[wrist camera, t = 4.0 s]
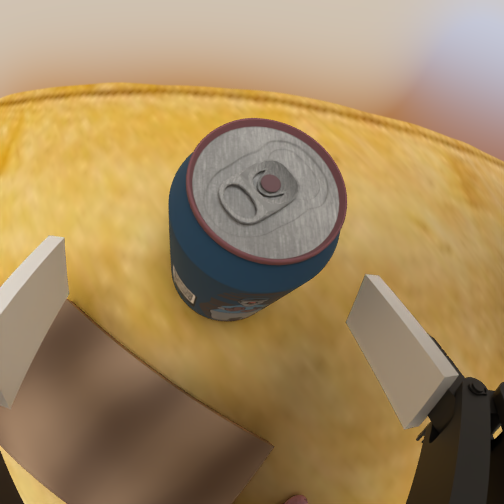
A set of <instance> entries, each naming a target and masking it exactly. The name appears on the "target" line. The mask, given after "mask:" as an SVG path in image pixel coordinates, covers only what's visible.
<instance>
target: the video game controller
mask: <svg viewBox="0 0 504 504" xmlns="http://www.w3.org/2000/svg"><path fill="white" fill-rule="evenodd" d="M284 504H308V501H307V499H306V497H305V496H303V495H296V496H293V497H291V498H290V499H288V500H287V501H286V502H285V503H284Z"/></svg>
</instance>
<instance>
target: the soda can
mask: <svg viewBox="0 0 504 504" xmlns="http://www.w3.org/2000/svg"><path fill="white" fill-rule="evenodd" d="M346 210H347V193H346V188H345V184H344V180H343V178H342V175H341V173H340V170H339V169H338V167H337V165H336V163H335V162H334V160H333V159H332V157H331V156H330V155H329V154H328V152H327V151H326V150H325V149H324V148H323V147H322V146H321V145H320V144H319V143H318V142H317V141H315V140H314V139H313V138H311V137H310V136H309V135H307V134H306V133H304V132H302V131H301V130H299V129H297V128H295V127H292V126H290V125H287V124H285V123H281V122H278V121H274V120H269V119H261V118H246V119H240V120H235V121H232V122H229V123H227V124H224V125H222V126H220V127H218V128H216V129H215V130H213V131H212V132H210V133H209V134H208V135H207V136H206V137H205V138H203V139H202V141H201V142H200V143H199V144H198V145H197V147H196V148H195V150H194V152H193V153H191V154H190V155H189V156H188V157H187V158H186V160H185V161H184V162H183V163H182V165H181V166H180V168H179V169H178V171H177V173H176V175H175V177H174V179H173V182H172V185H171V189H170V194H169V233H170V254H171V271H172V278H173V282H174V285H175V287H176V290H177V292H178V293H179V295H180V297H181V298H182V299H183V301H184V302H185V303H186V304H187V305H188V306H189V307H190V308H191V309H193V310H194V311H195V312H197V313H199V314H200V315H202V316H204V317H207V318H210V319H213V320H218V321H236V320H241V319H244V318H247V317H249V316H251V315H253V314H255V313H256V312H258V311H260V310H261V309H263V308H265V307H267V306H268V305H270V304H272V303H273V302H275V301H277V300H278V299H280V298H281V297H283V296H285V295H286V294H288V293H290V292H291V291H293V290H295V289H296V288H298V287H299V286H301V285H303V284H304V283H306V282H307V281H309V280H310V279H312V278H313V277H315V276H316V275H317V274H318V273H319V272H320V271H321V270H322V269H323V268H324V267H325V265H326V264H327V263H328V261H329V260H330V258H331V257H332V255H333V253H334V251H335V248H336V246H337V243H338V239H339V234H340V230H341V228H342V225H343V223H344V220H345V216H346Z"/></svg>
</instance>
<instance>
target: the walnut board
mask: <svg viewBox="0 0 504 504" xmlns="http://www.w3.org/2000/svg"><path fill="white" fill-rule="evenodd" d="M0 446H1V447H2V448H3V449H4V450H5V451H6V452H7V453H8V454H9V455H10V456H11V457H12V458H13V459H14V460H15V461H17V462H18V463H19V464H20V465H21V466H22V467H23V468H24V469H25V470H26V471H27V472H29V473H30V474H31V475H32V476H33V477H34V478H35V479H37V480H38V481H39V482H40V483H41V484H43V485H44V486H45V487H46V488H47V489H49V490H50V491H51V492H52V493H54V494H55V495H56V496H58V497H59V498H60V499H62V500H63V501H64V502H66V503H67V504H232V503H233V502H234V500H235V499H236V498H237V497H238V495H239V494H240V493H241V491H242V490H243V489H244V488H245V486H246V485H247V484H248V482H249V481H250V480H251V478H252V477H253V476H254V474H255V473H256V472H257V470H258V469H259V468H260V466H261V465H262V463H263V462H264V461H265V459H266V458H267V456H268V455H269V454H270V452H271V451H272V449H273V448H274V446H273V445H272V444H270V443H269V442H268V441H266V440H264V439H263V438H261V437H259V436H257V435H255V434H253V433H252V432H250V431H248V430H246V429H245V428H243V427H241V426H239V425H238V424H236V423H234V422H232V421H231V420H229V419H227V418H226V417H224V416H222V415H221V414H219V413H218V412H216V411H214V410H213V409H211V408H209V407H208V406H206V405H205V404H203V403H202V402H200V401H199V400H197V399H195V398H194V397H192V396H191V395H189V394H188V393H186V392H185V391H184V390H182V389H181V388H179V387H178V386H176V385H175V384H173V383H172V382H170V381H169V380H168V379H166V378H165V377H163V376H162V375H161V374H159V373H158V372H157V371H155V370H154V369H152V368H151V367H150V366H148V365H147V364H146V363H144V362H143V361H142V360H140V359H139V358H138V357H137V356H135V355H134V354H133V353H131V352H130V351H129V350H128V349H126V348H125V347H124V346H123V345H121V344H120V343H119V342H118V341H116V340H115V339H114V338H113V337H112V336H110V335H109V334H108V333H107V332H106V331H104V330H103V329H102V328H101V327H100V326H99V325H97V324H96V323H95V322H94V321H93V320H92V319H91V318H89V317H88V316H87V315H86V314H85V313H84V312H83V311H82V310H81V309H79V308H78V307H77V306H76V305H75V304H74V303H73V302H72V301H70V300H68V299H67V298H66V300H65V302H64V303H63V305H62V307H61V309H60V310H59V312H58V314H57V316H56V317H55V319H54V321H53V323H52V324H51V326H50V328H49V330H48V332H47V334H46V335H45V337H44V339H43V341H42V343H41V345H40V347H39V349H38V351H37V353H36V355H35V357H34V359H33V361H32V363H31V365H30V367H29V369H28V371H27V373H26V375H25V377H24V379H23V381H22V384H21V386H20V388H19V390H18V392H17V395H16V397H15V399H14V402H13V404H12V406H11V409H9V408H6V407H3V406H0Z"/></svg>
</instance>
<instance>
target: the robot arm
mask: <svg viewBox="0 0 504 504" xmlns="http://www.w3.org/2000/svg"><path fill="white" fill-rule="evenodd" d="M68 295H69V288H68V279H67V269H66V257H65V241H64V237H57V236H48V237H47V238H46V239H45V240H44V241H43V242H42V243H41V244H40V245H39V246H38V247H37V248H36V249H35V250H34V251H33V252H32V253H31V254H30V255H29V256H28V257H27V258H26V259H25V260H24V261H23V263H22V264H21V265H20V266H19V267H18V268H17V269H16V270H15V271H14V272H13V273H12V275H11V276H10V277H9V278H8V279H7V280H6V281H5V282H4V284H3V285H2V286H1V287H0V406H3V407H6V408H9V409H11V406H12V404H13V402H14V399H15V397H16V395H17V392H18V390H19V388H20V386H21V384H22V381H23V379H24V377H25V375H26V373H27V371H28V369H29V367H30V365H31V363H32V361H33V359H34V357H35V355H36V353H37V351H38V349H39V347H40V345H41V343H42V341H43V339H44V337H45V335H46V334H47V332H48V330H49V328H50V326H51V324H52V323H53V321H54V319H55V317H56V316H57V314H58V312H59V310H60V309H61V307H62V305H63V303H64V302H65V300H66V298H67V297H68ZM346 324H347V325H348V327H349V329H350V331H351V332H352V334H353V336H354V338H355V339H356V341H357V343H358V345H359V346H360V348H361V350H362V352H363V354H364V355H365V357H366V359H367V361H368V363H369V364H370V366H371V368H372V370H373V372H374V374H375V375H376V377H377V379H378V381H379V383H380V385H381V386H382V388H383V390H384V392H385V394H386V396H387V398H388V400H389V401H390V403H391V405H392V407H393V409H394V411H395V413H396V415H397V417H398V419H399V421H400V422H401V424H402V426H403V428H404V429H408V428H413V427H417V426H419V425H420V424H421V423H422V422H423V421H424V419H425V418H426V417H427V416H428V417H429V418H430V420H431V422H430V423H429V424H428V425H427V426H426V428H425V429H424V430H423V431H422V432H421V433H420V434H419V435H418V437H417V439H416V440H417V441H418V440H419V439H420V438H421V437H422V436H424V440H423V441H422V443H423V445H422V449H421V454H420V458H419V462H418V465H417V469H416V473H415V476H414V480H413V483H412V486H411V490H410V493H409V496H408V499H407V502H406V504H504V382H502V383H501V384H500V385H499V387H498V388H497V389H496V391H490V390H488V389H487V388H486V386H485V385H484V384H483V383H482V382H481V381H479V380H477V379H475V378H472V377H467V378H464V376H463V375H462V374H461V372H460V371H459V370H458V368H457V367H456V366H455V364H454V363H453V362H452V360H451V359H450V358H449V357H448V356H446V355H447V354H446V353H445V351H444V350H443V349H441V346H440V345H439V344H438V343H437V341H436V340H435V339H434V338H433V337H431V336H430V335H429V334H428V333H426V331H425V330H424V329H423V328H422V326H421V325H420V324H419V323H418V321H417V320H416V319H415V318H414V317H413V315H412V314H411V313H410V312H409V310H408V309H407V308H406V307H405V306H404V304H403V303H402V302H401V301H400V300H399V299H398V297H397V296H396V295H395V294H394V293H393V291H392V290H391V289H390V288H389V287H388V286H387V285H386V283H385V282H384V281H383V280H382V279H381V278H380V276H378V275H369V274H365V277H364V279H363V282H362V284H361V287H360V289H359V292H358V294H357V297H356V299H355V302H354V304H353V307H352V309H351V312H350V314H349V316H348V319H347V321H346ZM500 426H501V427H502V432H501V433H500V434H499V436H498V437H497V438H495V439H494V438H493V434H494V432H495V431H496V430H497V429H498V428H499V427H500ZM0 504H24V503H23V501H22V499H21V497H20V495H19V493H18V491H17V489H16V487H15V484H14V482H13V480H12V478H11V476H10V473H9V471H8V469H7V466H6V464H5V462H4V459H3V457H2V454H1V451H0Z"/></svg>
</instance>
